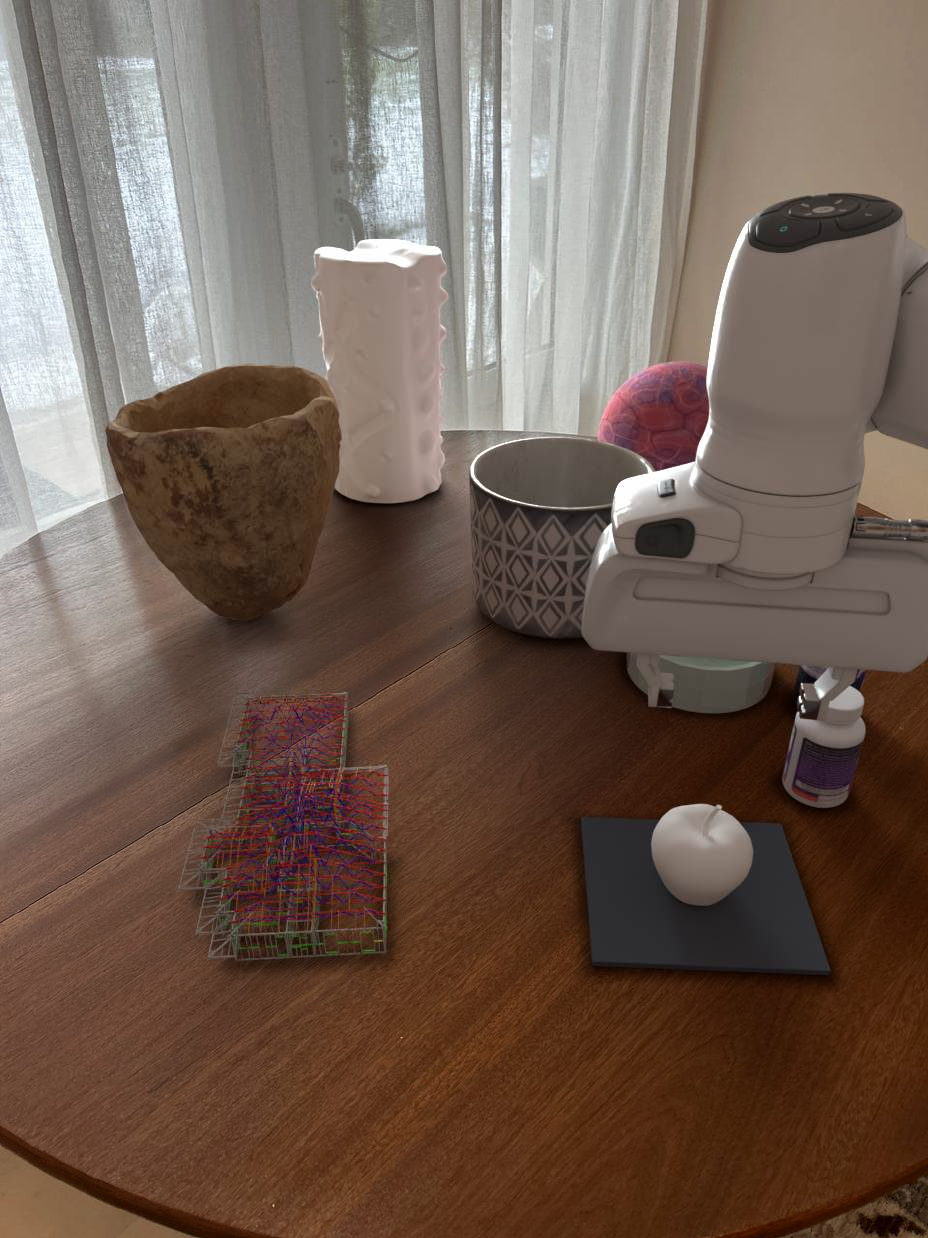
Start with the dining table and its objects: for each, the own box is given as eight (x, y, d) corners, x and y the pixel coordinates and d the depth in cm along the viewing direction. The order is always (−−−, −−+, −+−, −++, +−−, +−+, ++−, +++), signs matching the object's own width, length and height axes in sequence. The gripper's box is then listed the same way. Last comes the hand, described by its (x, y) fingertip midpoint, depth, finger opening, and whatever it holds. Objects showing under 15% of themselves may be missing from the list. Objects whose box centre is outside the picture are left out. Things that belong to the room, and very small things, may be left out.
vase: (307, 481, 135) (284, 247, 118) (394, 452, 144) (384, 232, 127) (380, 517, 124) (366, 267, 107) (468, 484, 134) (468, 249, 117)
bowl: (203, 554, 115) (168, 353, 102) (375, 571, 112) (363, 364, 98) (108, 652, 97) (51, 421, 84) (312, 677, 93) (286, 439, 80)
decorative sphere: (567, 521, 123) (576, 372, 112) (627, 471, 137) (640, 335, 127) (713, 558, 114) (738, 399, 103) (761, 500, 128) (787, 356, 118)
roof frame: (231, 712, 88) (224, 666, 85) (391, 705, 89) (388, 660, 86) (164, 983, 62) (150, 931, 60) (389, 971, 63) (385, 919, 60)
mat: (780, 827, 75) (781, 823, 74) (829, 975, 63) (831, 971, 62) (580, 821, 75) (581, 816, 75) (592, 966, 63) (592, 961, 63)
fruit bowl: (753, 634, 99) (761, 594, 97) (786, 715, 87) (796, 672, 84) (620, 631, 100) (624, 591, 97) (634, 711, 88) (639, 668, 85)
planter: (491, 664, 95) (493, 517, 86) (454, 574, 111) (452, 443, 102) (668, 642, 98) (687, 499, 89) (607, 558, 114) (618, 430, 105)
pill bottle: (861, 802, 77) (889, 709, 72) (805, 816, 76) (829, 721, 71) (822, 762, 81) (845, 670, 76) (768, 773, 80) (788, 682, 75)
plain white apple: (746, 931, 65) (765, 849, 61) (644, 915, 66) (656, 833, 62) (741, 858, 71) (758, 779, 67) (647, 845, 72) (658, 766, 68)
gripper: (947, 499, 54) (891, 692, 61) (591, 481, 56) (578, 668, 64) (982, 548, 48) (917, 754, 56) (588, 526, 51) (574, 725, 58)
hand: (733, 708), depth 60 cm, fingers open, 8 cm apart
